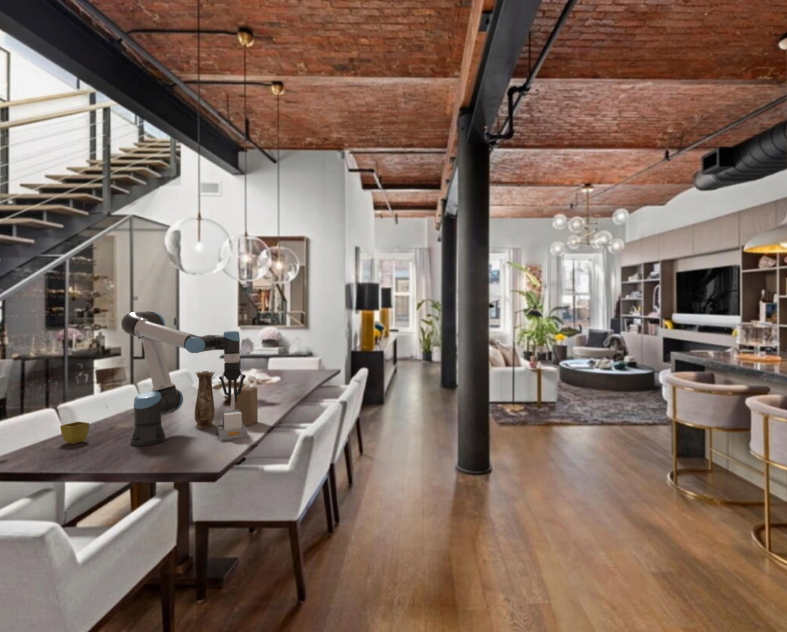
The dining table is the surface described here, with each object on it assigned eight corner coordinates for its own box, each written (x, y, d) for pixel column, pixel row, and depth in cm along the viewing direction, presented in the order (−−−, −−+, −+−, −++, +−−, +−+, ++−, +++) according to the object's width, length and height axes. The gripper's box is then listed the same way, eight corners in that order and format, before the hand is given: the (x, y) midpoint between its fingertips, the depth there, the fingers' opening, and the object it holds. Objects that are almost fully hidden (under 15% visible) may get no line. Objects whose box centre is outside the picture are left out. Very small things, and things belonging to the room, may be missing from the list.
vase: (202, 423, 258) (201, 370, 257) (219, 424, 256) (218, 370, 255) (190, 428, 248) (189, 373, 247) (208, 429, 245) (207, 373, 245)
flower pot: (59, 443, 220) (59, 425, 220) (78, 439, 229) (77, 421, 228) (72, 445, 217) (71, 427, 217) (90, 440, 225) (89, 422, 225)
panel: (225, 437, 227) (224, 414, 226) (224, 435, 230) (223, 413, 230) (241, 434, 230) (241, 413, 230) (240, 433, 233) (240, 411, 233)
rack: (220, 441, 223) (220, 416, 223) (217, 433, 237) (217, 410, 237) (247, 437, 228) (247, 414, 228) (242, 430, 243) (242, 407, 242)
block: (258, 421, 261) (257, 386, 261) (251, 426, 251) (250, 390, 251) (241, 421, 262) (241, 386, 262) (233, 425, 252) (233, 389, 252)
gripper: (218, 363, 223) (219, 411, 224) (246, 361, 229) (247, 408, 229) (217, 361, 230) (218, 408, 230) (244, 360, 236) (245, 405, 236)
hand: (232, 408), depth 230 cm, fingers closed
